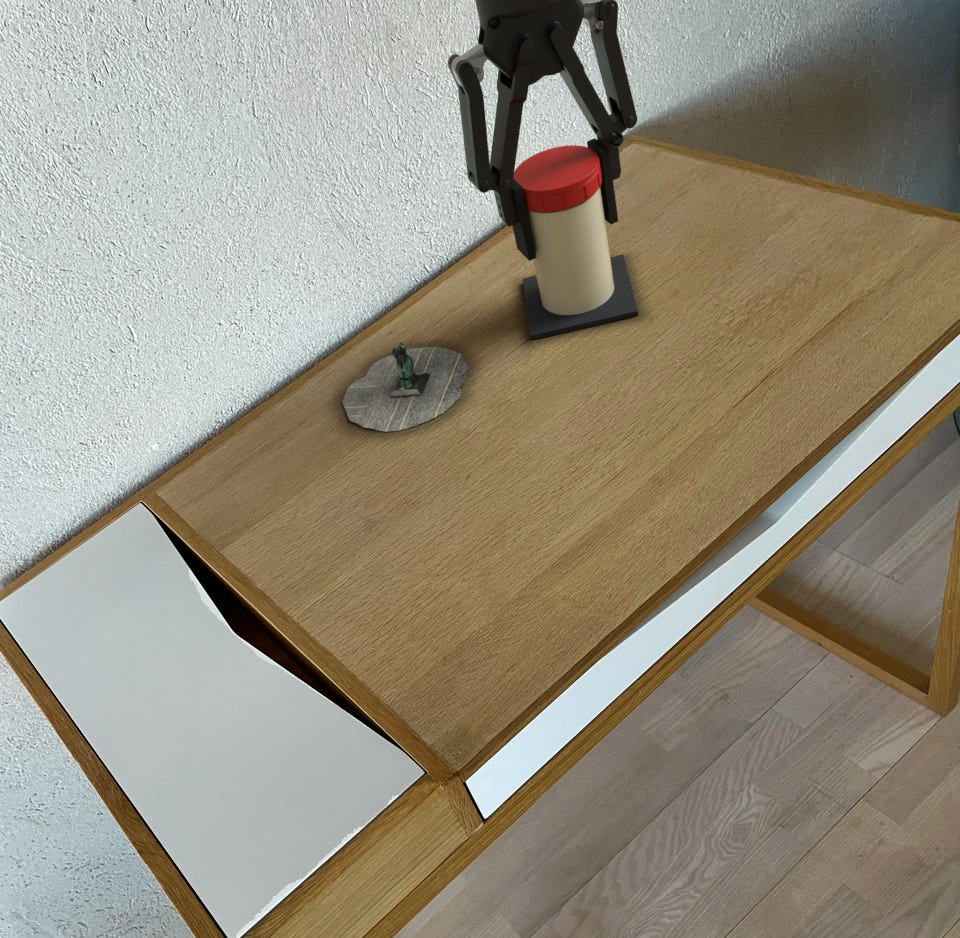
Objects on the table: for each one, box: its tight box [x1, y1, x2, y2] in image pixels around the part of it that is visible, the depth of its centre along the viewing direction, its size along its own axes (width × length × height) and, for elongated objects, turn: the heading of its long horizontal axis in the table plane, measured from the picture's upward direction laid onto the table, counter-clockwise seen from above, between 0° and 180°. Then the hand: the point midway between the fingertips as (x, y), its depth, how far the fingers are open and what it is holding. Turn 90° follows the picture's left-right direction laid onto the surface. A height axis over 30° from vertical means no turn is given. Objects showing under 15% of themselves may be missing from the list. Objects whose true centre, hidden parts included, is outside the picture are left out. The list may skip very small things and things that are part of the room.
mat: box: [522, 254, 639, 341], centre depth 90 cm, size 10×10×1 cm
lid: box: [513, 144, 602, 212], centre depth 82 cm, size 8×8×2 cm
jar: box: [527, 188, 614, 315], centre depth 86 cm, size 7×7×12 cm
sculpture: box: [341, 342, 470, 433], centre depth 88 cm, size 12×9×8 cm
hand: (567, 234), depth 86 cm, fingers closed on lid, 7 cm apart
